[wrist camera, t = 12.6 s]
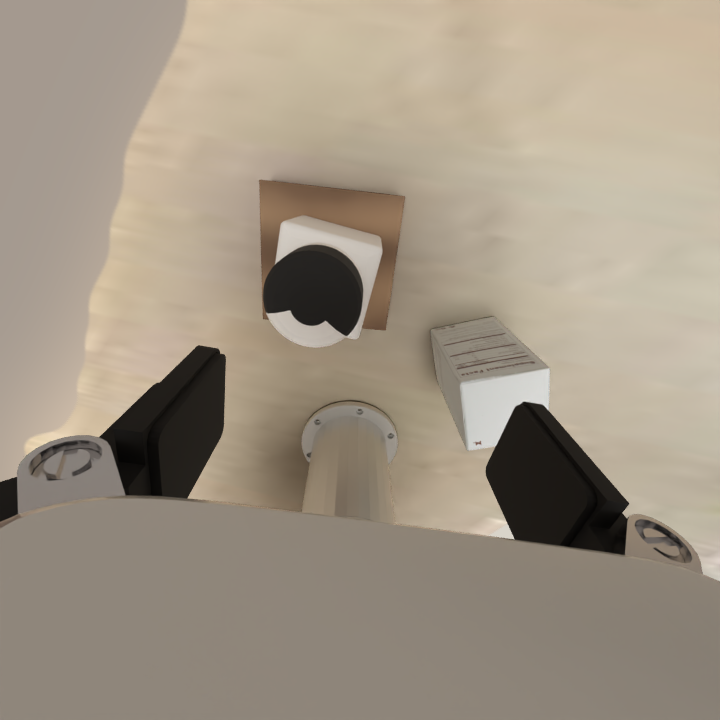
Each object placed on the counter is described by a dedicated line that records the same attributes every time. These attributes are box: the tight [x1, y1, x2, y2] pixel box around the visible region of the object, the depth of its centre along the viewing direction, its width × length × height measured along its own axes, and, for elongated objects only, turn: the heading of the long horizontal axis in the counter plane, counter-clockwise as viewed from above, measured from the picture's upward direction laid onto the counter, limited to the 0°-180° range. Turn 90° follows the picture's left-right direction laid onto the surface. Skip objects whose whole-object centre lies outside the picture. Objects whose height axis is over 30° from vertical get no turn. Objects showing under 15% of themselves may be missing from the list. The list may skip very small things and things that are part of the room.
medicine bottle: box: [263, 215, 382, 348], centre depth 25 cm, size 7×7×12 cm
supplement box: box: [430, 316, 550, 451], centre depth 34 cm, size 7×7×13 cm
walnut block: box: [259, 180, 405, 330], centre depth 33 cm, size 12×12×5 cm
